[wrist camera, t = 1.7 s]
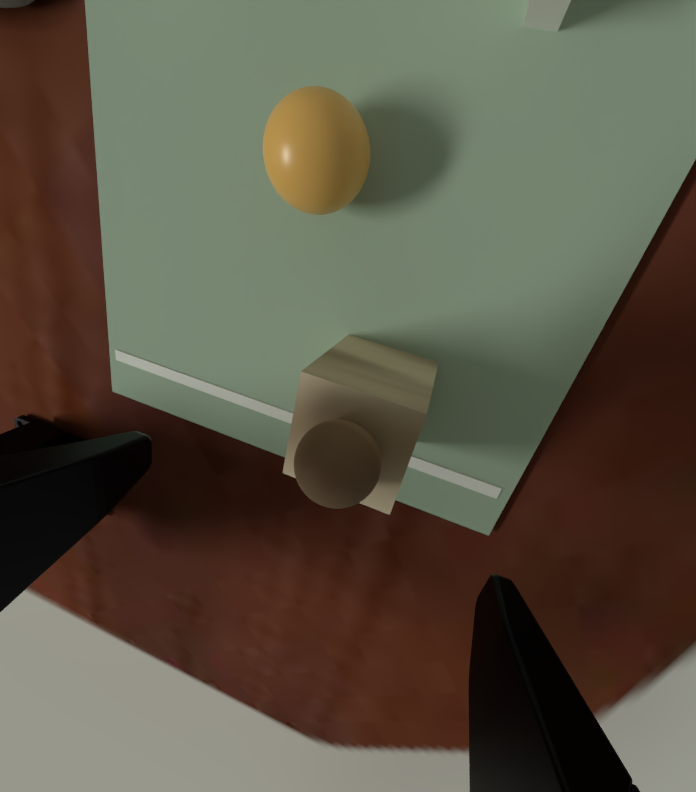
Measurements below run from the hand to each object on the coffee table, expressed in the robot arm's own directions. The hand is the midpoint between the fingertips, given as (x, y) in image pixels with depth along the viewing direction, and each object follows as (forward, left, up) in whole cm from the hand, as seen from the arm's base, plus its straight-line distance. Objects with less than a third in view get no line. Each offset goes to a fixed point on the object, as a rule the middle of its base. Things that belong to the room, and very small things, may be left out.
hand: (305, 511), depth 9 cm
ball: (+8, +4, -7) cm, 11 cm away
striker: (0, 0, -8) cm, 8 cm away
